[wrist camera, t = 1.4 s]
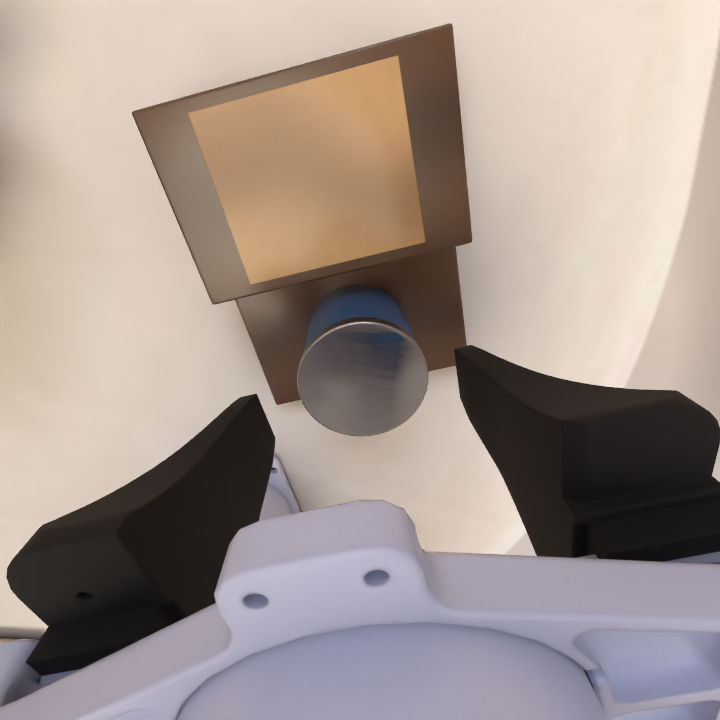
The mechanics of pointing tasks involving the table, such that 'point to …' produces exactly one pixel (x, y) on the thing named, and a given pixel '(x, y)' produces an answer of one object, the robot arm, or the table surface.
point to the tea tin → (361, 363)
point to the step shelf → (324, 192)
